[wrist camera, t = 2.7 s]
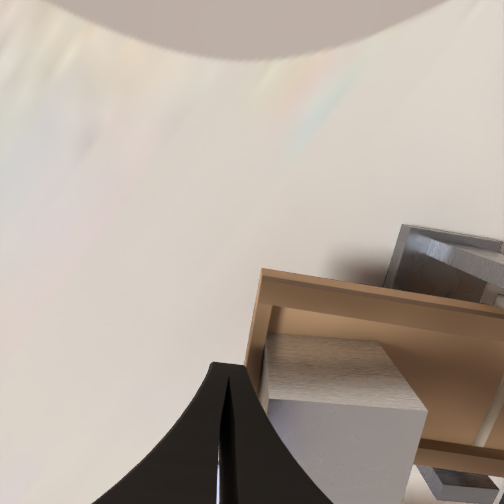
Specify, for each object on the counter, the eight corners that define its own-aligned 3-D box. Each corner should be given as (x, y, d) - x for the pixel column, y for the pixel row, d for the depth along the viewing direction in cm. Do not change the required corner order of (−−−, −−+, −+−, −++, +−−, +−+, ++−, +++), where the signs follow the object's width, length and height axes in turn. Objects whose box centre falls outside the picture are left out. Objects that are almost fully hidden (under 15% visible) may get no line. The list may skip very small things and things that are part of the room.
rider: (359, 421, 14) (398, 514, 10) (256, 413, 14) (256, 503, 10) (377, 340, 13) (428, 411, 9) (265, 331, 13) (269, 398, 9)
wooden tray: (646, 467, 17) (708, 513, 15) (235, 406, 16) (231, 445, 14) (735, 332, 15) (825, 362, 12) (262, 254, 14) (264, 270, 12)
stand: (426, 403, 22) (515, 514, 15) (350, 394, 22) (405, 505, 15) (489, 238, 19) (642, 279, 12) (402, 224, 19) (505, 257, 11)
